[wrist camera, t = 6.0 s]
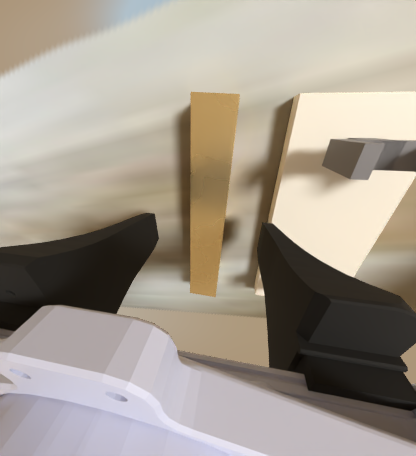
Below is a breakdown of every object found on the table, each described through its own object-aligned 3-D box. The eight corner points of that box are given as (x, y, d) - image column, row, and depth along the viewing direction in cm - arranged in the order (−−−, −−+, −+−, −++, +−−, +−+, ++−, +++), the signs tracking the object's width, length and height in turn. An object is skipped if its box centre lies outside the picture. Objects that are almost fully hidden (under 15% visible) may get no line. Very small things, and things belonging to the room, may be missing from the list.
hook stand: (441, 95, 9) (663, 60, 4) (330, 294, 16) (364, 358, 12) (293, 96, 10) (343, 69, 5) (254, 284, 17) (259, 340, 13)
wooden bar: (239, 100, 10) (239, 94, 8) (218, 277, 18) (215, 296, 16) (200, 98, 11) (190, 91, 8) (195, 274, 18) (190, 292, 16)
